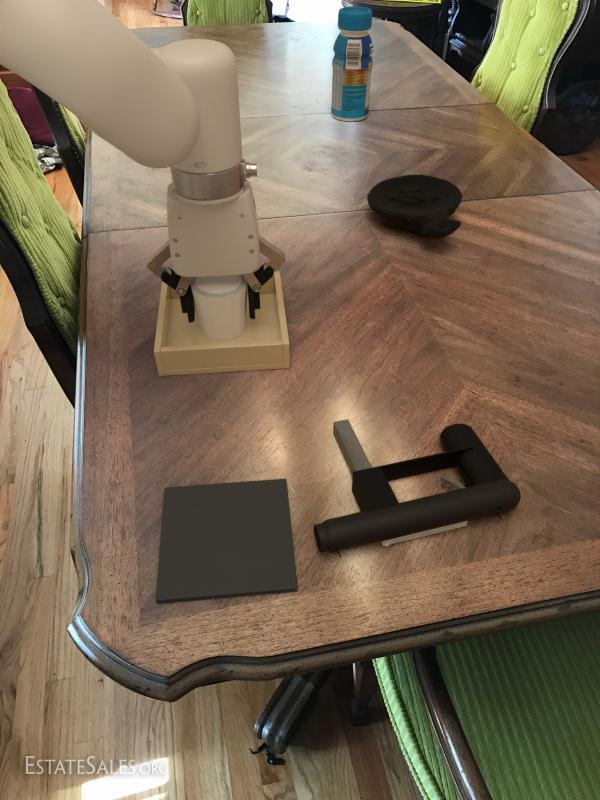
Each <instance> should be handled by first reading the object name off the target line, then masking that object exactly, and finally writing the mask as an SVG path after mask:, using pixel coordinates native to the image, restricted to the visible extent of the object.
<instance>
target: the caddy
mask: <svg viewBox="0 0 600 800" xmlns="http://www.w3.org/2000/svg"><path fill="white" fill-rule="evenodd" d="M194 304H195V301H194ZM287 322H288V321H287V315H286V307H285V300H284V293H283V285H282V278H281V271H279V270H277V271H275V273H274V275H273V276H272V277H271V278H270V279H269V280H268V281H267V282H266V283H265V284H264V285H263V286H262V289H261V290H260V309H255V319H251V318H250V316H249V301H248V286H247V304H246V326H245V330H244V332H243V333H242V334H241V335H240V336H239V337H236V338H234V339H232V340H227V341H215V340H212V339H210V338H207V337H206V336H205V335H204V334H203V332H202V329H201V325H200V321H199V317H198V313H197V309H196V305H195V321H193V322H192V323H189V322H188V315H187V313H182V308H181V302H180V296H179V295H177V294H176V290H174V289H173V288H171V287H170V286H168V285H167V284H165V283H164V282H163V281H162V280H161V287H160V294H159V302H158V312H157V322H156V328H155V336H154V337H155V338H154V346H153V356H154V361H155V364H156V370H157V374H158V377H168V376H169V377H170V376H182V375H183V376H184V375H186V376H187V375H199V374H203V375H204V374H215V373H216V374H217V373H219V374H220V373H232V372H233V373H234V372H247V371H249V372H250V371H251V372H252V371H267V370H282V369H290V363H291V362H290V361H291V360H290V359H291V358H290V354H291V353H290V352H291V351H290V338H289V330H288V323H287Z"/></svg>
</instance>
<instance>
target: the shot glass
mask: <svg viewBox="0 0 600 800" xmlns="http://www.w3.org/2000/svg"><path fill="white" fill-rule="evenodd" d="M190 285H191V289H192V293H193V297H194V301H195V305H196V309H197V313H198V317H199V321H200V325H201V329H202V332H203V334H204V335H205V336H206V337H207V338H210V339H212V340H215V341H227V340H232V339H234V338H236V337H239V336H240V335H241V334H242V333H243V332H244V330H245V326H246V304H247V281H246V280H245V278H244V277H243V275H225V276H205V277H193V278H192V280H191V282H190Z"/></svg>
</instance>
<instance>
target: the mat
mask: <svg viewBox="0 0 600 800" xmlns="http://www.w3.org/2000/svg"><path fill="white" fill-rule="evenodd" d="M162 502H163V503H162V513H161V527H160V539H159V553H158V564H157V578H156V591H155V602H156V604H169V603H180V602H191V601H192V602H193V601H204V600H214V599H226V598H227V599H228V598H238V597H248V596H260V595H261V596H262V595H272V594H273V595H274V594H282V593H295V592H298V580H297V579H298V578H297V570H296V559H295V552H294V551H295V550H294V541H293V539H294V538H293V531H292V530H293V529H292V521H291V512H290V511H291V509H290V503H289V493H288V483H287V478H274V479H261V480H247V481H234V482H221V483H219V482H218V483H206V484H194V485H192V484H191V485H179V486H165V487H164V488H163V499H162Z"/></svg>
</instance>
